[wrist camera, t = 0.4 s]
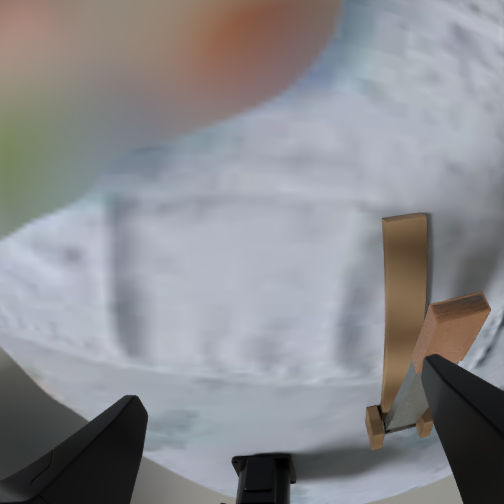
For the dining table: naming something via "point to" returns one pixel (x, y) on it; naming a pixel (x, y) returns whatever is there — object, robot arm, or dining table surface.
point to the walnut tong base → (401, 313)
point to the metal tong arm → (436, 352)
